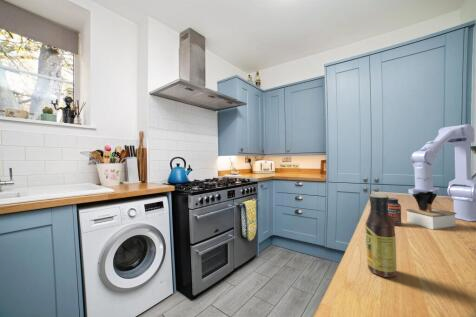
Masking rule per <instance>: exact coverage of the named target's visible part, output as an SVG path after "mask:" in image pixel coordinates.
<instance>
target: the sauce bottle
mask: <svg viewBox="0 0 476 317" xmlns="http://www.w3.org/2000/svg"><path fill="white" fill-rule="evenodd" d="M389 198H390V197H389V196H388V195H385V194H378V193H377V194H376V193H375V194H369V198H368V199H369V201H370V209H369V215H368V217H367V220H366V222H365V243H366V244H365V247H366V249H365V250H366V263H367V268H368V270H369V271H370V272H371V273H372V274H374V275H377V276H380V277H383V278H394V277H395V276H396V274H397V268H398V267H397V244H396V243H397V242H396V232H395V228H396V226H394V222H393V220H392V219H391V218H390V216H389V215H388V212H389V211H388V203H389Z"/></svg>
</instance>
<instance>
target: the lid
mask: <svg viewBox="0 0 476 317" xmlns="http://www.w3.org/2000/svg"><path fill="white" fill-rule="evenodd" d="M407 211H411V212H415V213H420V214H424V215H428V216H433V217H434V216H444V215H454V214H456V213H455V212H454V211H449V210H444V209H438V208H433V207H432V205H431V204H428V203H427V209H426V210H425V211H424V210H420V209H419V206H418V205H417V207H416V208H406V212H407Z"/></svg>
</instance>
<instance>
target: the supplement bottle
mask: <svg viewBox="0 0 476 317" xmlns="http://www.w3.org/2000/svg"><path fill="white" fill-rule="evenodd" d="M388 211H389V212H388V215H389V216H390V218H391V219H392V220H393V222H394V226H395V227H397V226H401V225H402V206H401V204H400V203H399V199H398V198H395V197H389V203H388Z"/></svg>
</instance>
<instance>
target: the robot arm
mask: <svg viewBox="0 0 476 317" xmlns="http://www.w3.org/2000/svg"><path fill="white" fill-rule="evenodd" d="M474 142H475V128H474V127H473V126H472V125H471V124H470V123H465V124H461V125H452V126H444V127H441V128H440V129H439V130H438V133H437V136H436V137H435V139H434V140H430V141H427V142H426V143H425V144H424V145H423V146H422V147H421V148H420V149H419V150H416V151H414V152H412V153H411V155H410V157H409V158H410V162H411V164H412V168H413V169H414V170H413V171H414V187H413V188H412V187H411V188H408V189H407V192H408V194H410V195H412V197H413V198H414V200H415V201H416V203H417V207H418V206H419V209H420V210H424V211H425V210H426V209H427V203H428V204H431V206H433V202H434V200H435V199H436V197H438V194H437V193H440V189H441V188H440V187H434V180H433V164H435V163H436V160H437V155H438V154H440V153H441V151H442V150H443V149H444V145H445V144H446V143H447V144H450V145H453V147H454V175H455V178H454V179H453V180H450V181H448V187H447V190H446V191H447V194H448V196H449V197H450V198H451V199H452V202H453V212H455V213H456V214H454V215H455V219H458V220H462V221H466V222H476V180H474V179H472V158H471V156H472V154H471V153H472V152H471V144H472V143H474Z"/></svg>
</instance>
